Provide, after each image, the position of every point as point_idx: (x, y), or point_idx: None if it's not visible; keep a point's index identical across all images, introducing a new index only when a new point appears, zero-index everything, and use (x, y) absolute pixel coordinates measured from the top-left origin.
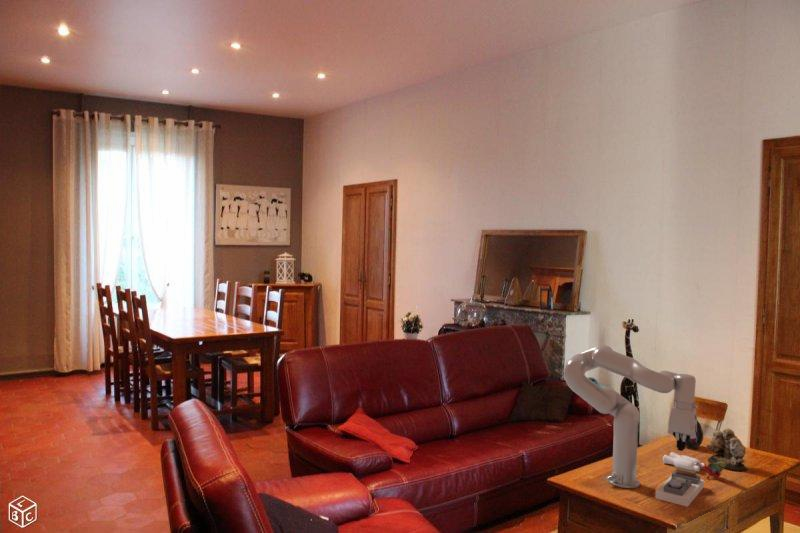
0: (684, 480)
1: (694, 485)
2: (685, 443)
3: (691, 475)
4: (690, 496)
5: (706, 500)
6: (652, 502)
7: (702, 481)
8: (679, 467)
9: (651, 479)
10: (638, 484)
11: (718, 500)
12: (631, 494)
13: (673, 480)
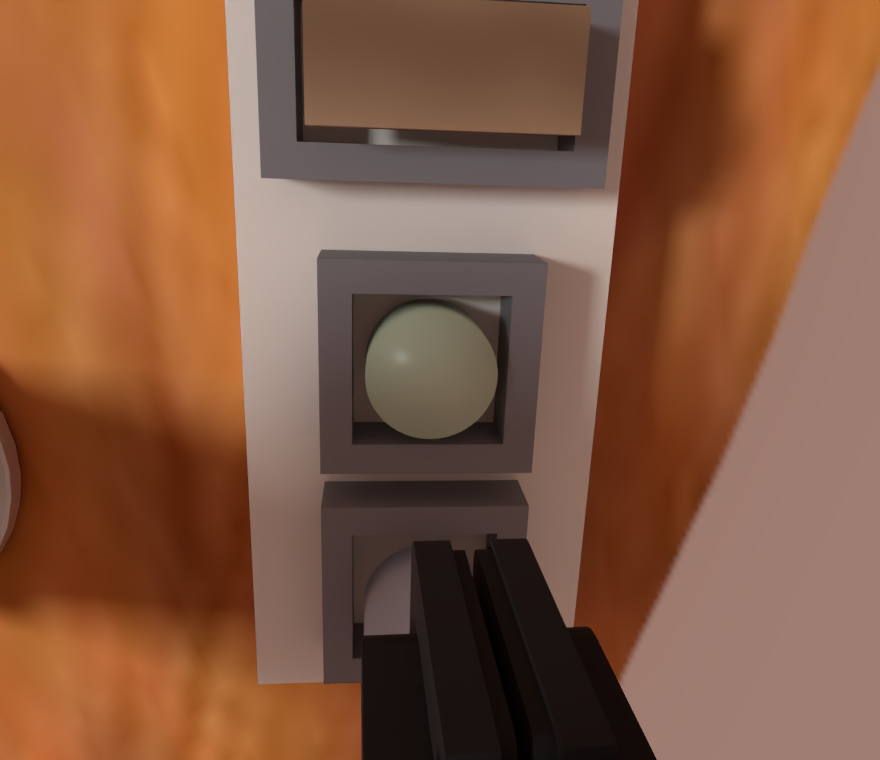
0: (481, 390)
1: (565, 243)
2: (638, 734)
3: (528, 134)
4: (576, 589)
5: (677, 367)
6: (280, 727)
7: (633, 3)
8: (324, 4)
9: (15, 111)
10: (8, 491)
11: (781, 286)
12: (62, 687)
13: (401, 629)
